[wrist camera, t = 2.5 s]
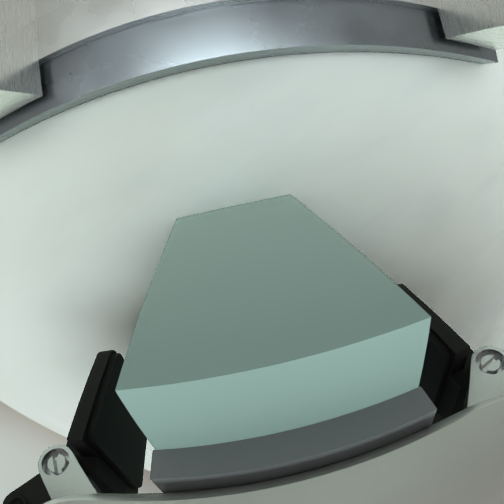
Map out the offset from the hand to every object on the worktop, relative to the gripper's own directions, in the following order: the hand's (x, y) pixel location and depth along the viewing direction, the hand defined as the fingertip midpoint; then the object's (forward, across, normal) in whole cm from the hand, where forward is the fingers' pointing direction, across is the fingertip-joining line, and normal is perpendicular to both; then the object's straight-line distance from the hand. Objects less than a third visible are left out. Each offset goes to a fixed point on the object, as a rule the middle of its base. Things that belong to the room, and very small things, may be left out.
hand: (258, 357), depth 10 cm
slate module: (+4, 0, 0) cm, 4 cm away
